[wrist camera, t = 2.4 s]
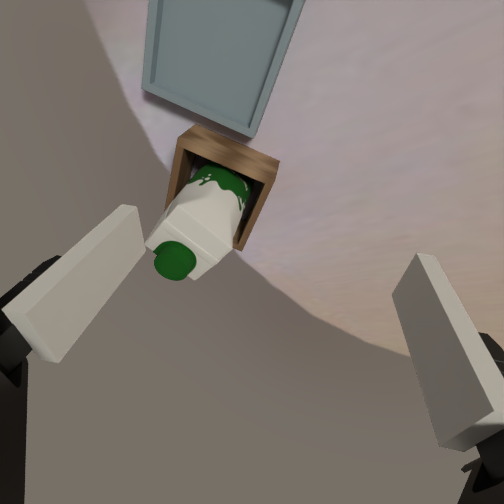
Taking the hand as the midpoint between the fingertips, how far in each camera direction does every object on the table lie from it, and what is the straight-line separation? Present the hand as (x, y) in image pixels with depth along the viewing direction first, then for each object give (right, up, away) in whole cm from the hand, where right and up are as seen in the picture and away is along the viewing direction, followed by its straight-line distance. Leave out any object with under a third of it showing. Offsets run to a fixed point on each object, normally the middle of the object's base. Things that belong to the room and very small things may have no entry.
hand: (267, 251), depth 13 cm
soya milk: (-5, +12, +32) cm, 34 cm away
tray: (-5, +26, +20) cm, 33 cm away
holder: (-5, +12, +32) cm, 34 cm away
